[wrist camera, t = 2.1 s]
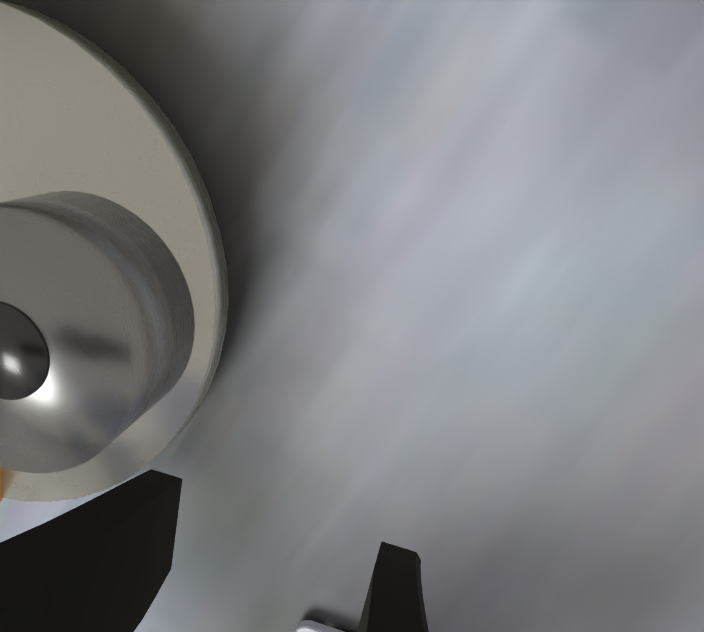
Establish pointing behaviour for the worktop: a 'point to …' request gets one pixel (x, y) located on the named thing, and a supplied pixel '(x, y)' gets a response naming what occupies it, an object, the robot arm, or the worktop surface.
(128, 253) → the cover
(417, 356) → the worktop surface
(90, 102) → the turntable
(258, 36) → the worktop surface
